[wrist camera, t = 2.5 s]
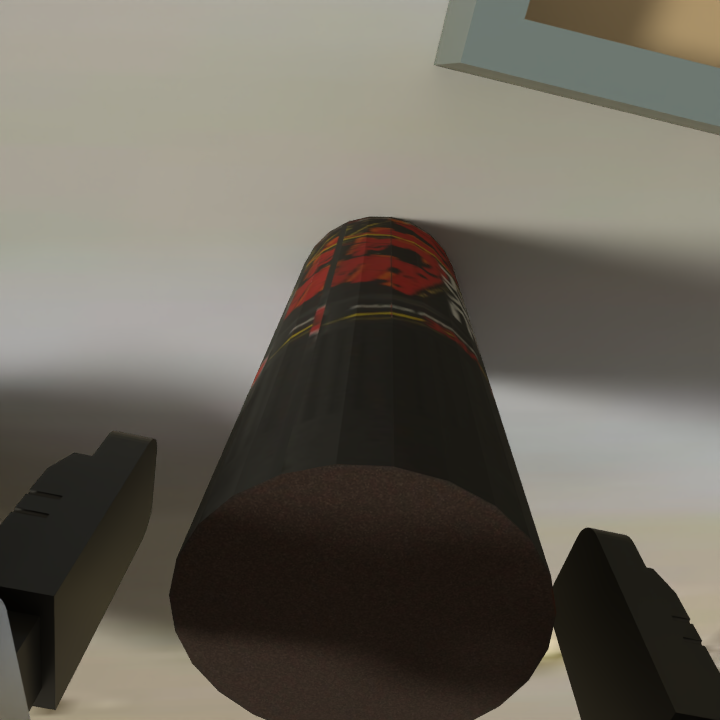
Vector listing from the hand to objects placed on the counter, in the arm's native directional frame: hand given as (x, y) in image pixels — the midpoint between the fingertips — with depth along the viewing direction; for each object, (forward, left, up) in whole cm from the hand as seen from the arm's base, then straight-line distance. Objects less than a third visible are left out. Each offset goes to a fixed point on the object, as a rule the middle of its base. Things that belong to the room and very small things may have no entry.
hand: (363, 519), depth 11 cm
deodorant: (0, 0, -13) cm, 13 cm away
